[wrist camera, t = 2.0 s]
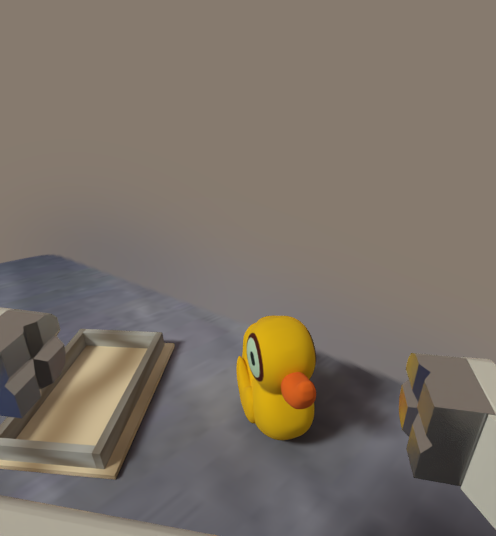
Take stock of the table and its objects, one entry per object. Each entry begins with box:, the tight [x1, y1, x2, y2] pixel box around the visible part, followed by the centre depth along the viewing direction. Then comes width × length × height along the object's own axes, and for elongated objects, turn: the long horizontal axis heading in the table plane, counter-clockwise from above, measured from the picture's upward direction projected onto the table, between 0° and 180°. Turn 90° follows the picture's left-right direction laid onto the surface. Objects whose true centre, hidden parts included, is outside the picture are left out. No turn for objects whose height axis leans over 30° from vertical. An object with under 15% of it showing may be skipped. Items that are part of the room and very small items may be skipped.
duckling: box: [237, 316, 316, 440], centre depth 29 cm, size 11×5×10 cm, turn 15°
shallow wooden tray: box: [0, 329, 175, 479], centre depth 33 cm, size 10×14×2 cm
